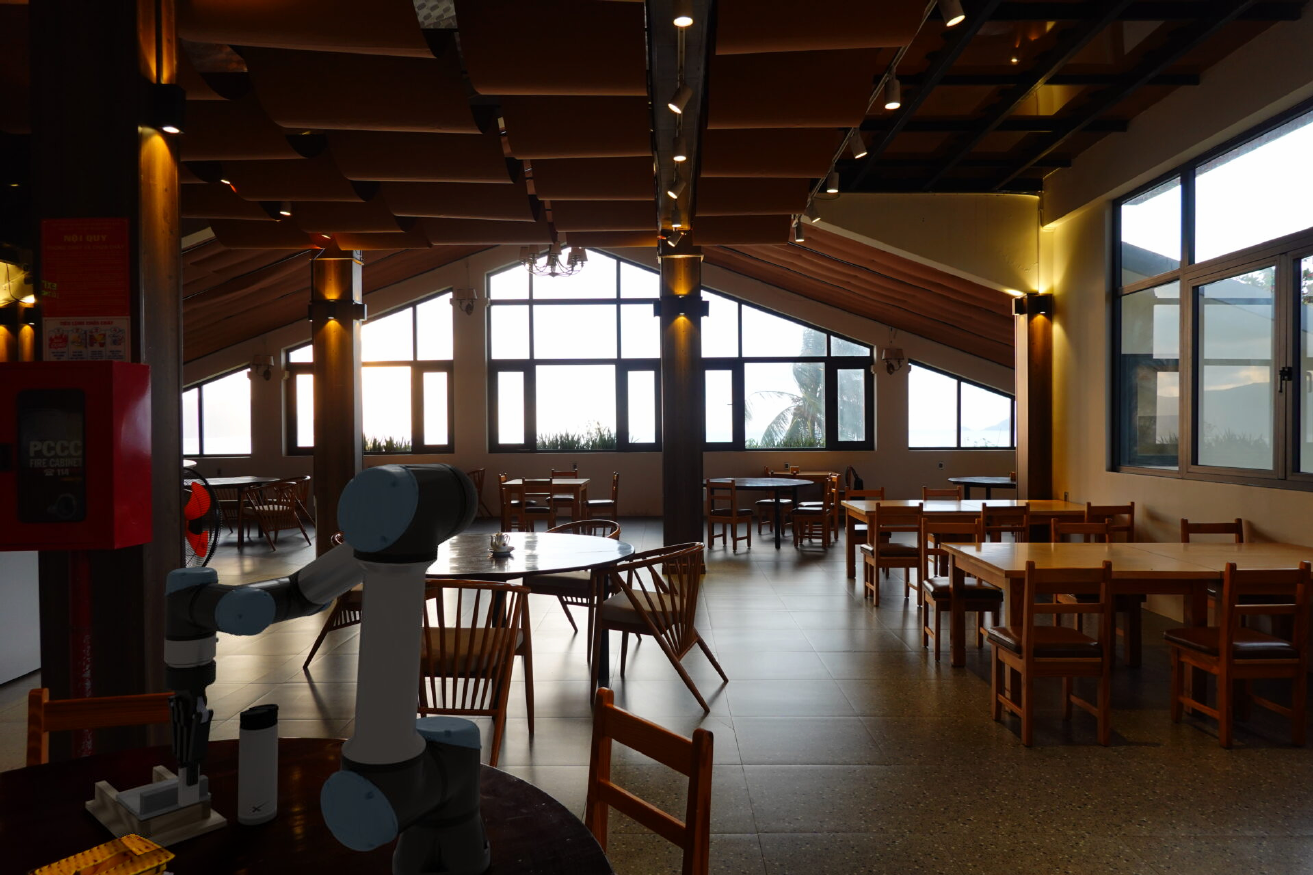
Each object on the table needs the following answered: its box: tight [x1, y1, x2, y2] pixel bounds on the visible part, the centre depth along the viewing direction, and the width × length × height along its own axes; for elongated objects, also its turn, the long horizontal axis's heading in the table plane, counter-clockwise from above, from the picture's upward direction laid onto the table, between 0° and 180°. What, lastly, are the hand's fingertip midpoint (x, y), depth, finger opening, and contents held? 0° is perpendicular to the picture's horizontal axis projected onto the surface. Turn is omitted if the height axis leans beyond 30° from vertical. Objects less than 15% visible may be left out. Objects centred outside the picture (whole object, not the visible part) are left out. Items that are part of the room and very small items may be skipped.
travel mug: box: [237, 703, 280, 826], centre depth 147 cm, size 6×7×20 cm
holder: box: [84, 765, 228, 848], centre depth 146 cm, size 26×14×4 cm, turn 50°
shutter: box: [116, 774, 212, 820], centre depth 144 cm, size 12×11×4 cm
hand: (188, 802), depth 137 cm, fingers closed
